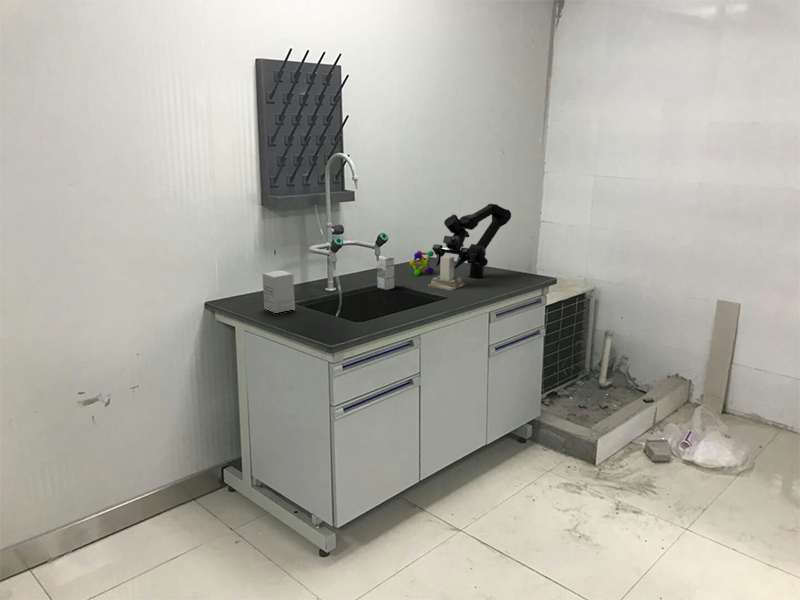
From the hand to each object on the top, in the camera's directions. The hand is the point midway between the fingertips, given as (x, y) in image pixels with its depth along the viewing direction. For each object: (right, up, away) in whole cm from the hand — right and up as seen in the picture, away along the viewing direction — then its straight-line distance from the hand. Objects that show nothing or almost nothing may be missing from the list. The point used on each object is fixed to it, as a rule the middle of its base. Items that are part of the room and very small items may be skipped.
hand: (445, 266), depth 285 cm
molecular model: (-10, -2, +27) cm, 29 cm away
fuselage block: (+1, -8, +3) cm, 8 cm away
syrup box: (-27, -10, -1) cm, 29 cm away
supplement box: (-68, -19, -36) cm, 80 cm away
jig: (+1, -8, +4) cm, 9 cm away
